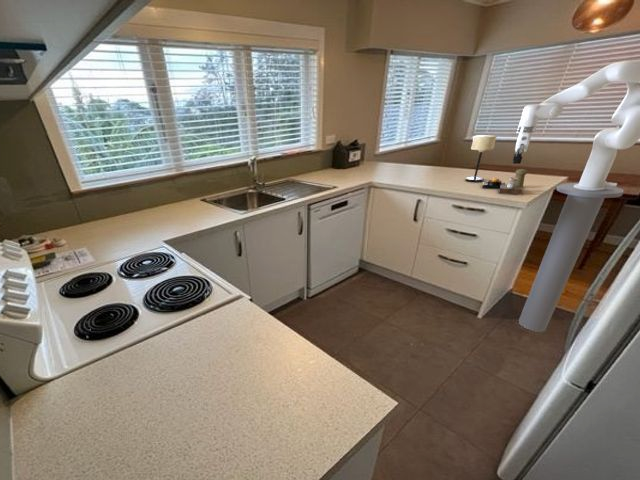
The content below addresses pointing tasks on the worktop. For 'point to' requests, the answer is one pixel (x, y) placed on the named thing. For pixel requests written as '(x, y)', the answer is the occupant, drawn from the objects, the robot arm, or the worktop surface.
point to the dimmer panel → (510, 190)
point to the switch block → (492, 184)
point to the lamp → (481, 145)
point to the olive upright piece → (520, 177)
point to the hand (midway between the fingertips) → (516, 162)
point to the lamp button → (495, 179)
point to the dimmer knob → (512, 182)
